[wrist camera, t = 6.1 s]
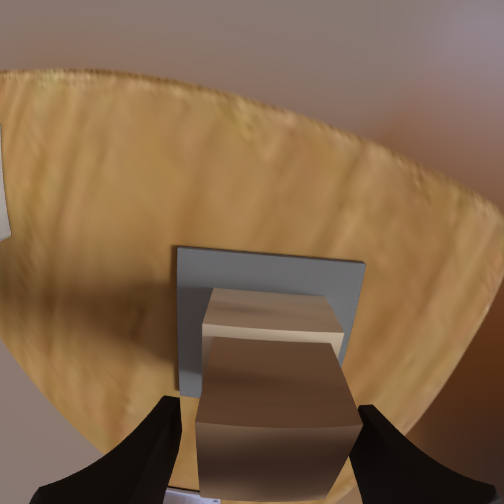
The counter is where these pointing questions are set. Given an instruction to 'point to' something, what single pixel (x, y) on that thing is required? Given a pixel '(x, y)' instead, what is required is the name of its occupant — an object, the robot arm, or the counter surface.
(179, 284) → the mat
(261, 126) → the counter surface
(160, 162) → the counter surface
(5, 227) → the small box
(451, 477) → the robot arm
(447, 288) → the counter surface
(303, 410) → the walnut block
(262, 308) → the maple block
